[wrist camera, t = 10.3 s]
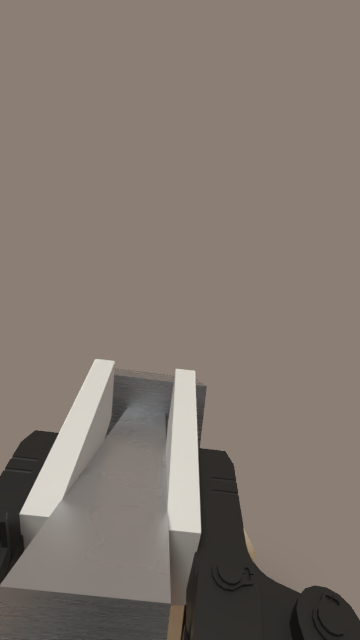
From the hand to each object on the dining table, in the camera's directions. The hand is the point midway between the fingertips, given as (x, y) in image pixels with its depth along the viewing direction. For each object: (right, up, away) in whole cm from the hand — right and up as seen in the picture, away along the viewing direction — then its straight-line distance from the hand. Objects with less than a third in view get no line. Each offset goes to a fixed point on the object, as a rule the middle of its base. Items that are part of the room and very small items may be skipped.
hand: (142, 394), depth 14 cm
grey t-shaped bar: (-1, -4, +3) cm, 5 cm away
